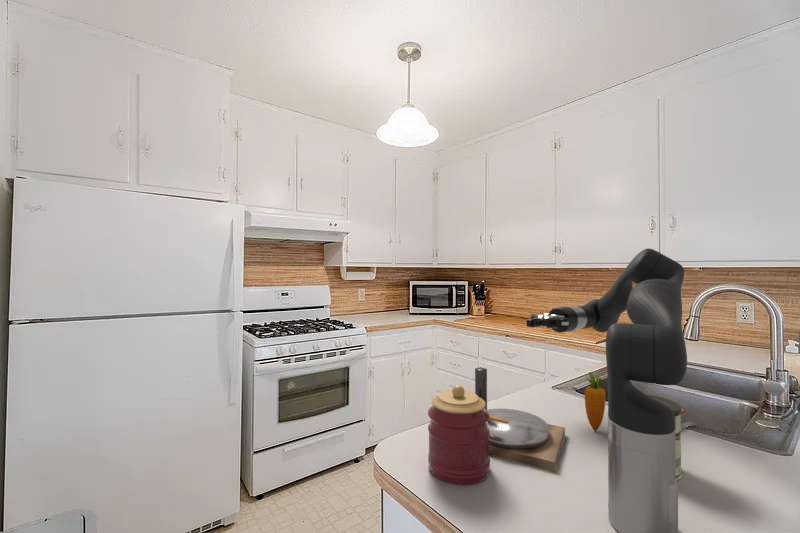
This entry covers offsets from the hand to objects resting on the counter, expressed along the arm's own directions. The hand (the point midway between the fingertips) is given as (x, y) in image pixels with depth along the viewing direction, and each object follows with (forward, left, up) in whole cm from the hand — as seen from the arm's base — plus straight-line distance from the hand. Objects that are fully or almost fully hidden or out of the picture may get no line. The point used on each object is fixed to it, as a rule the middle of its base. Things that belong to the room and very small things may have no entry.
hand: (528, 323), depth 103 cm
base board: (+2, +15, -27) cm, 31 cm away
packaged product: (-30, -14, -28) cm, 43 cm away
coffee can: (-27, +13, -27) cm, 41 cm away
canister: (+8, +33, -27) cm, 44 cm away
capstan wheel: (+2, +15, -25) cm, 29 cm away
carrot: (-16, -1, -27) cm, 32 cm away
